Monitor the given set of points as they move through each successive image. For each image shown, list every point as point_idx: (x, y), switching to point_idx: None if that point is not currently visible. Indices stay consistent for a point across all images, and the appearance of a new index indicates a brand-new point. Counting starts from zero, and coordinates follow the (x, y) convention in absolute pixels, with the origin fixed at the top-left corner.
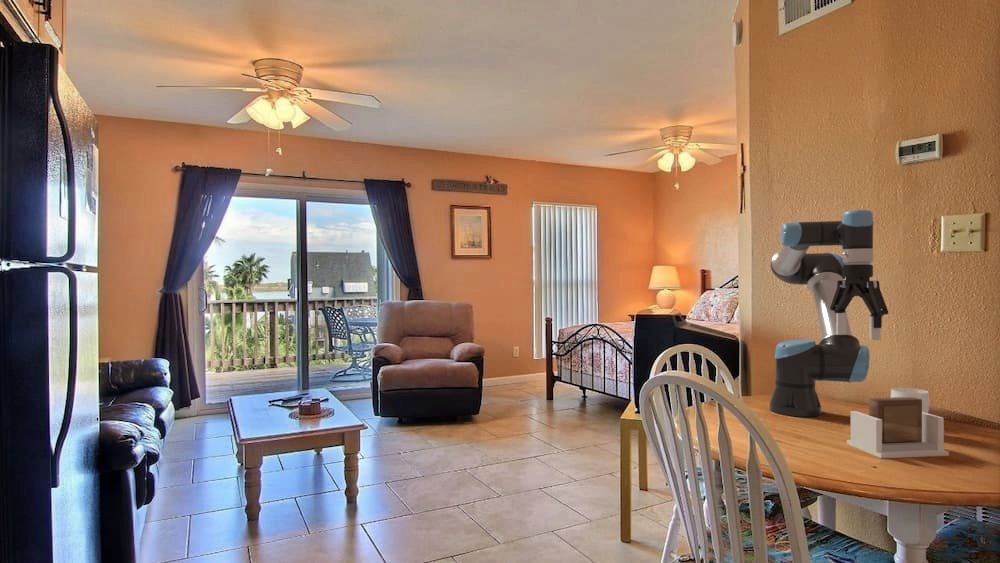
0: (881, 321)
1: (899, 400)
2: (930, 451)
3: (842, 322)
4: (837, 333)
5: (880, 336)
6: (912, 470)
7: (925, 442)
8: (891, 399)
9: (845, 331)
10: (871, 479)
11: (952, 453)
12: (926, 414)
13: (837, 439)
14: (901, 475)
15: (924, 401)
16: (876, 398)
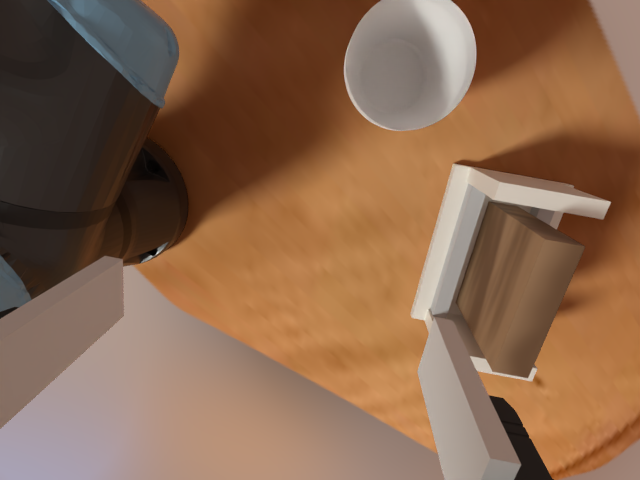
0: (534, 448)
1: (552, 317)
2: (552, 226)
3: (58, 336)
4: (113, 319)
5: (458, 333)
6: (585, 340)
7: (538, 217)
8: (536, 331)
9: (108, 275)
10: (577, 433)
11: (562, 156)
12: (559, 210)
13: (377, 304)
14: (591, 379)
15: (468, 70)
16: (506, 358)
